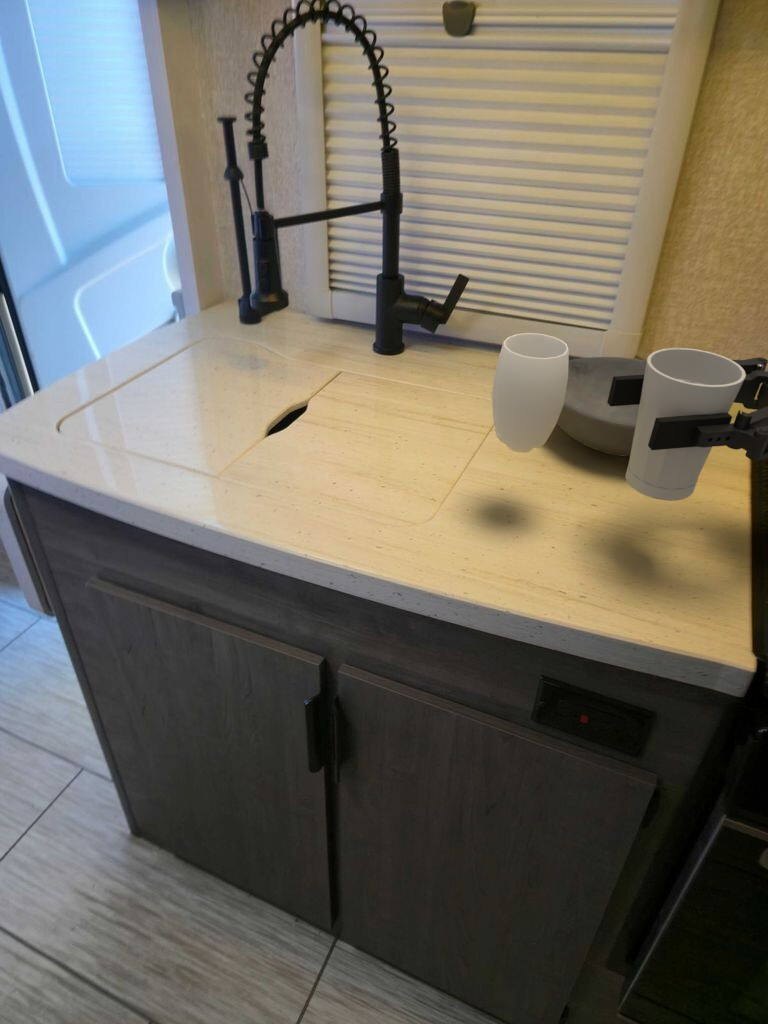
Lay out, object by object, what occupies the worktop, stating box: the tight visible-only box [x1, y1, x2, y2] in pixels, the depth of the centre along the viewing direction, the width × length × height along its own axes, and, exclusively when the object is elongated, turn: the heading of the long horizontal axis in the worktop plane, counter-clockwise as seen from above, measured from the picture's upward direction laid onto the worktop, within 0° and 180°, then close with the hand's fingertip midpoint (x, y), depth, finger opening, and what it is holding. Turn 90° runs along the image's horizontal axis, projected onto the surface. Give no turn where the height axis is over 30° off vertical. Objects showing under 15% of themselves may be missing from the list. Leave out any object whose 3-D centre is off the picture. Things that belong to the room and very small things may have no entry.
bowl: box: [556, 356, 647, 457], centre depth 88 cm, size 21×21×8 cm
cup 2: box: [625, 347, 746, 502], centre depth 61 cm, size 8×8×12 cm
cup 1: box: [491, 332, 570, 454], centre depth 70 cm, size 7×7×21 cm
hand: (632, 411), depth 59 cm, fingers closed on cup 2, 7 cm apart
